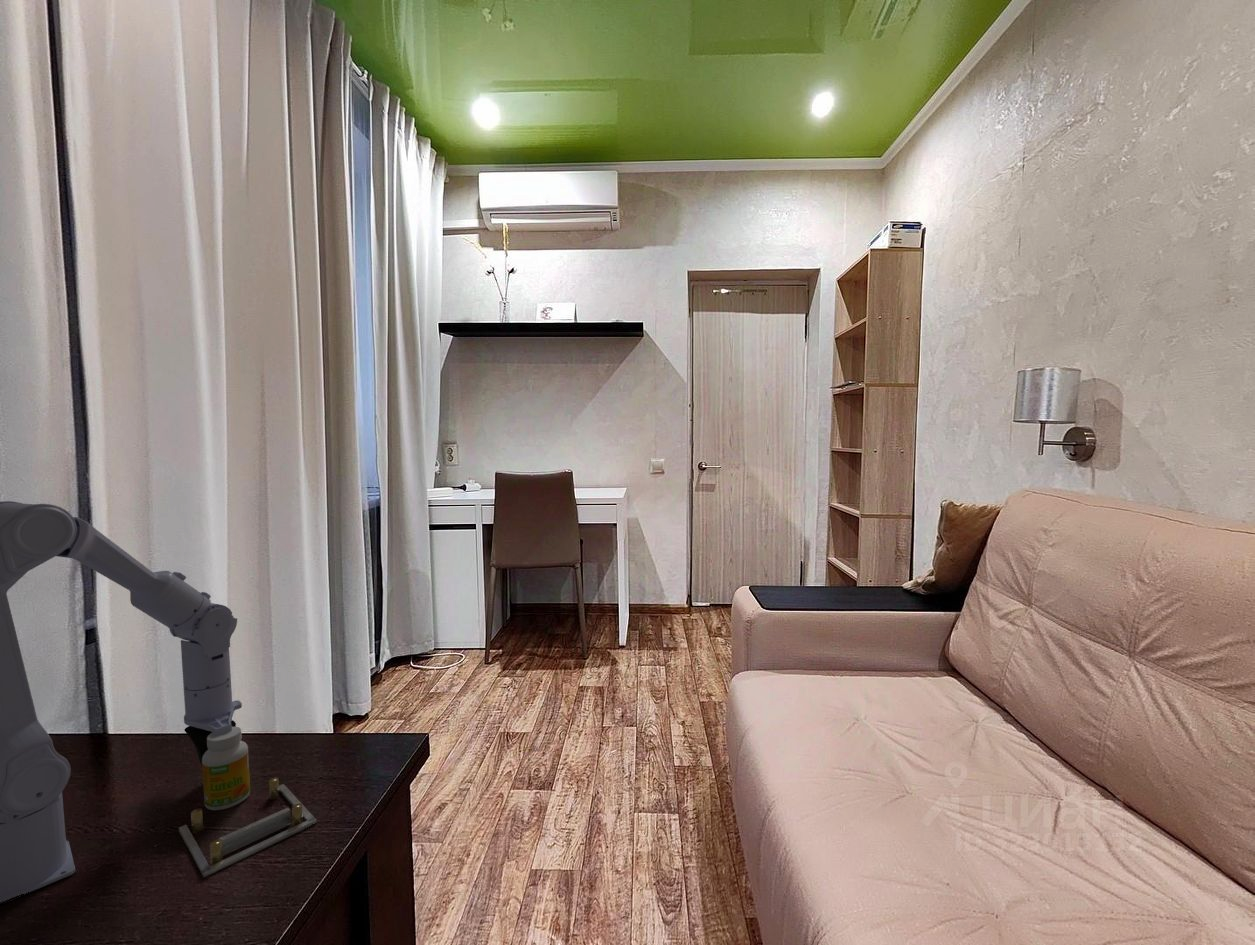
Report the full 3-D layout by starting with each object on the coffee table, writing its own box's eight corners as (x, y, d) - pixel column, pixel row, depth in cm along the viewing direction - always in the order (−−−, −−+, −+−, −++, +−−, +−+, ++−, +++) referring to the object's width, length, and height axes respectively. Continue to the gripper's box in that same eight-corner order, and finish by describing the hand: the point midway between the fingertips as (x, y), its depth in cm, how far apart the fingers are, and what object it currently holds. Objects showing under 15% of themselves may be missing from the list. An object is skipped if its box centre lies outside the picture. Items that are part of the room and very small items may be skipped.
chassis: (203, 877, 68) (202, 857, 67) (179, 831, 76) (177, 813, 75) (316, 823, 77) (315, 805, 77) (283, 787, 85) (282, 770, 85)
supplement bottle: (206, 817, 78) (201, 747, 78) (203, 798, 83) (199, 732, 82) (253, 800, 82) (249, 734, 81) (248, 783, 86) (244, 720, 85)
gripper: (254, 686, 84) (259, 776, 85) (225, 662, 94) (230, 742, 95) (195, 704, 79) (201, 799, 80) (170, 676, 89) (176, 761, 89)
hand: (213, 770), depth 87 cm, fingers closed
